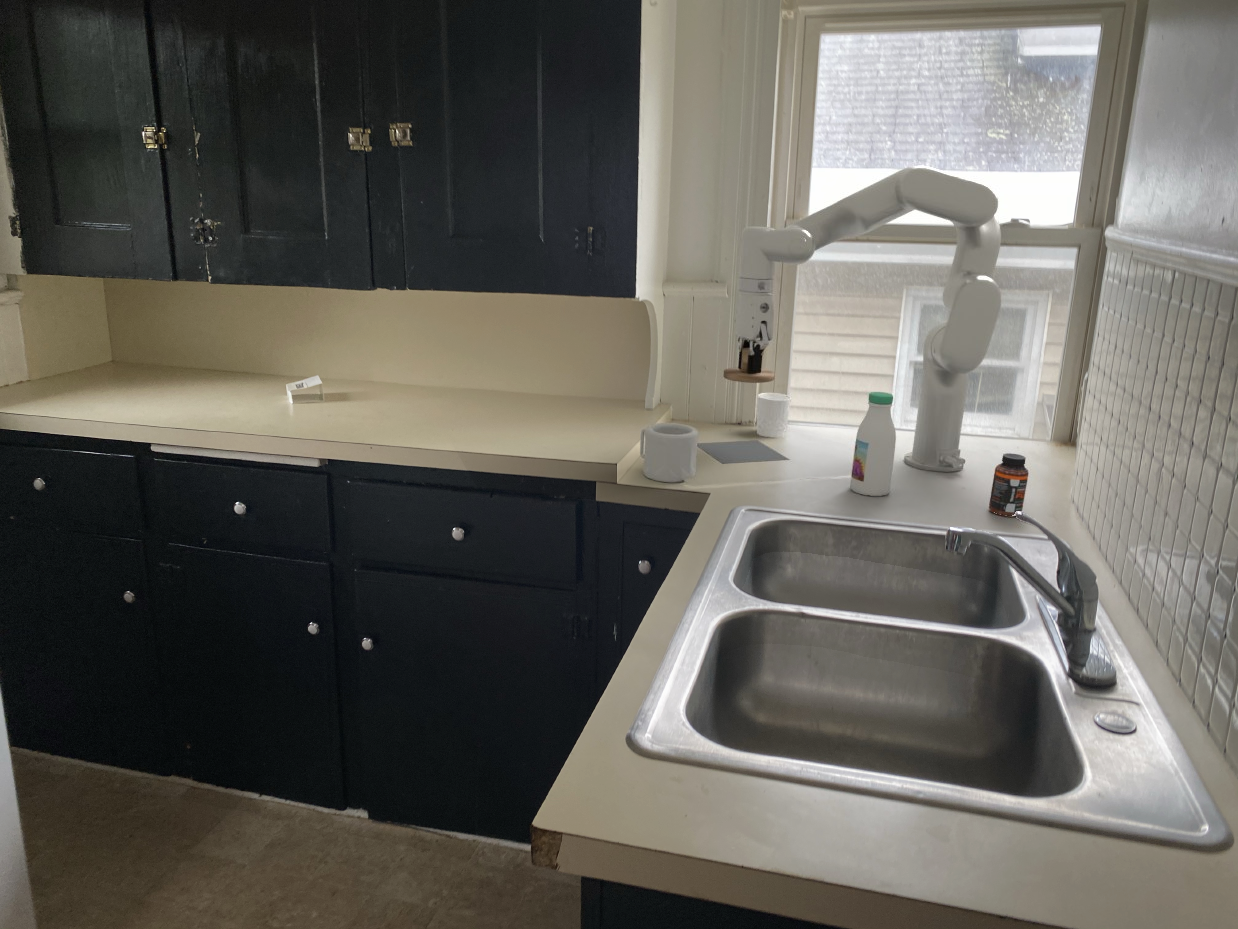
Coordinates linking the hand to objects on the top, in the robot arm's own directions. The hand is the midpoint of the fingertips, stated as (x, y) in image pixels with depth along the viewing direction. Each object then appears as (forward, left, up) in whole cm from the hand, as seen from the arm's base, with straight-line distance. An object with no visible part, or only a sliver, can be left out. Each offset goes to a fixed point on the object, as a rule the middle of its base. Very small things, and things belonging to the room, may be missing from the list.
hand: (749, 370), depth 210 cm
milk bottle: (-30, -14, -19) cm, 38 cm away
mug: (-11, +23, -19) cm, 32 cm away
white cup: (+12, -13, -19) cm, 26 cm away
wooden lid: (0, 0, -2) cm, 2 cm away
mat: (-1, +1, -19) cm, 19 cm away
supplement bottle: (-47, -33, -19) cm, 60 cm away
